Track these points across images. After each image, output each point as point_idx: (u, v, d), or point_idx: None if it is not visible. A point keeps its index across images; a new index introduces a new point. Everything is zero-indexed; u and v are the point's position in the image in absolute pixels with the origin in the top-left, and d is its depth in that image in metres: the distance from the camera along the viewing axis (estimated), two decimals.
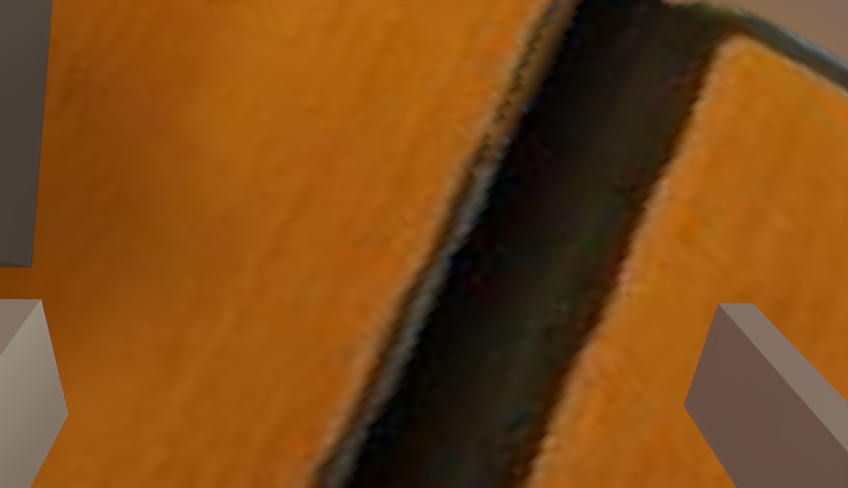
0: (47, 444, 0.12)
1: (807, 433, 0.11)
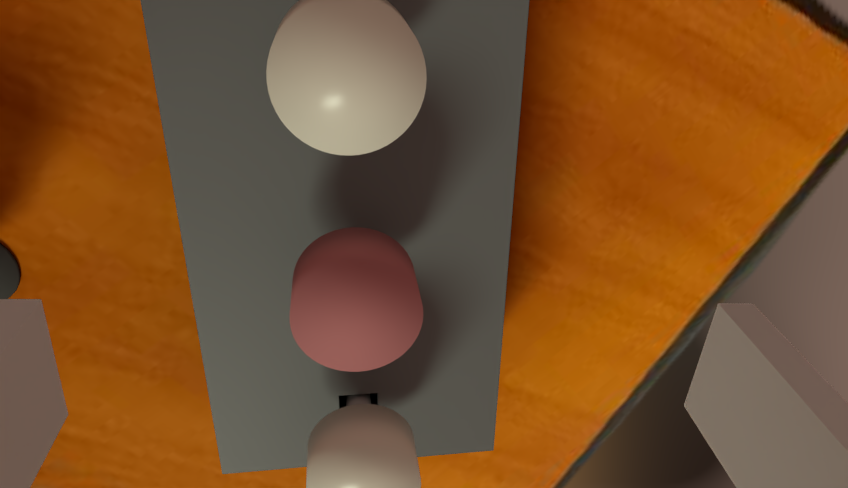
0: (47, 443, 0.12)
1: (807, 433, 0.11)
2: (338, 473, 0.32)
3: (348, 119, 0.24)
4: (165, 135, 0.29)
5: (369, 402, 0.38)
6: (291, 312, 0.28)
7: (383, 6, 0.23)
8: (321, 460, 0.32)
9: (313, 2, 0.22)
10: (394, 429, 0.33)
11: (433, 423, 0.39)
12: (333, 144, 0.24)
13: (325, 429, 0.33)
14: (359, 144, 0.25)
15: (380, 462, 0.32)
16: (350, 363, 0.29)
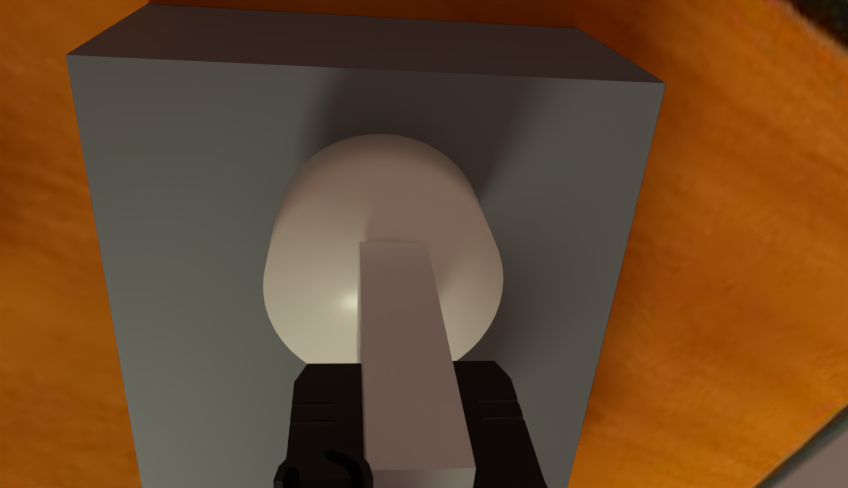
0: None
1: None
2: None
3: None
4: (112, 309, 0.20)
5: None
6: None
7: (449, 196, 0.15)
8: None
9: (342, 187, 0.14)
10: None
11: None
12: None
13: None
14: None
15: None
16: None
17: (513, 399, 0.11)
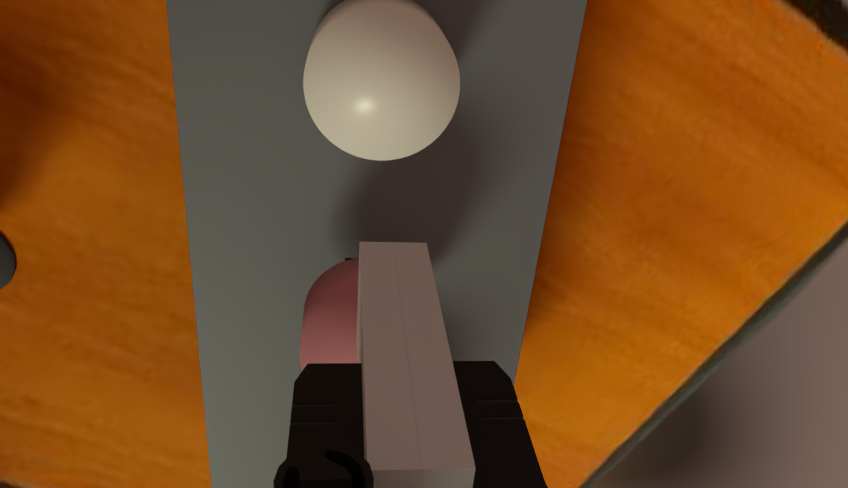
0: None
1: None
2: None
3: (379, 124, 0.25)
4: (181, 143, 0.27)
5: None
6: (302, 345, 0.26)
7: (424, 18, 0.23)
8: None
9: (356, 9, 0.23)
10: None
11: None
12: (362, 148, 0.25)
13: None
14: (388, 150, 0.25)
15: None
16: None
17: (513, 399, 0.11)
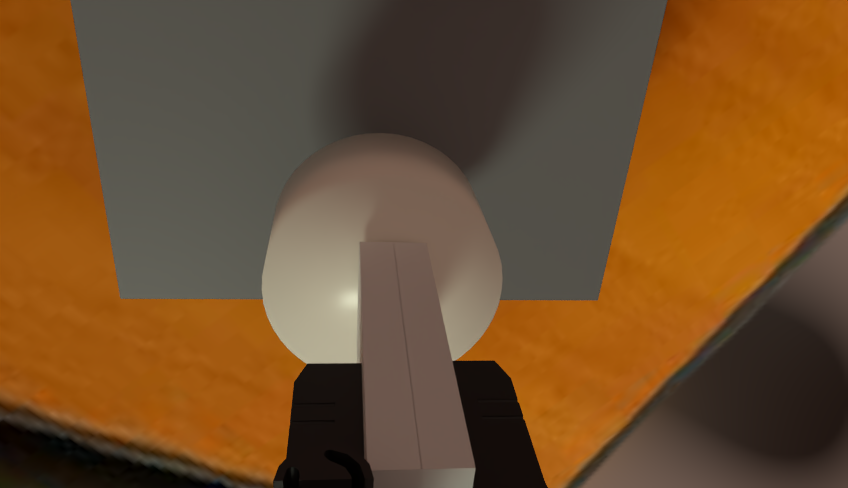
0: None
1: None
2: (333, 245, 0.15)
3: None
4: None
5: None
6: None
7: None
8: (298, 208, 0.15)
9: None
10: (453, 177, 0.16)
11: (503, 235, 0.22)
12: None
13: (311, 168, 0.16)
14: None
15: (424, 226, 0.15)
16: None
17: (513, 399, 0.11)
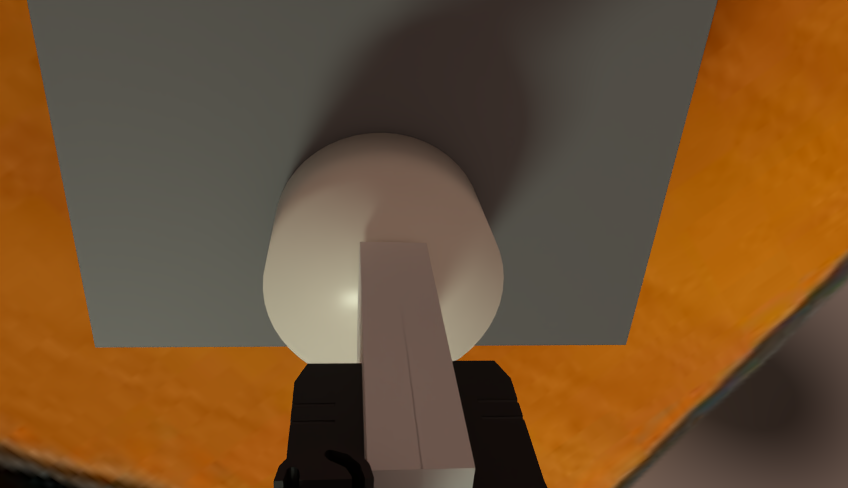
0: None
1: None
2: (335, 245, 0.15)
3: None
4: None
5: None
6: None
7: None
8: (300, 207, 0.15)
9: None
10: (454, 176, 0.16)
11: (523, 275, 0.20)
12: None
13: (312, 168, 0.16)
14: None
15: (425, 226, 0.15)
16: None
17: (513, 399, 0.11)
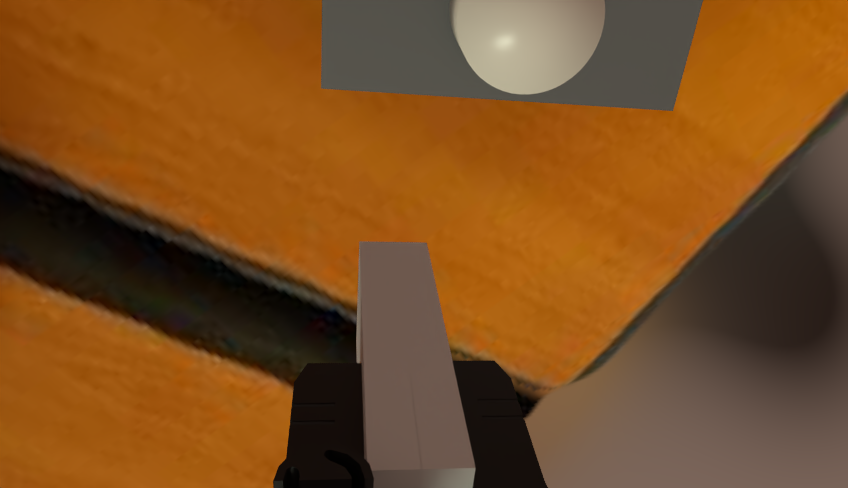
0: None
1: None
2: None
3: None
4: None
5: None
6: None
7: None
8: None
9: None
10: None
11: (606, 49, 0.29)
12: None
13: None
14: None
15: None
16: None
17: (513, 399, 0.11)
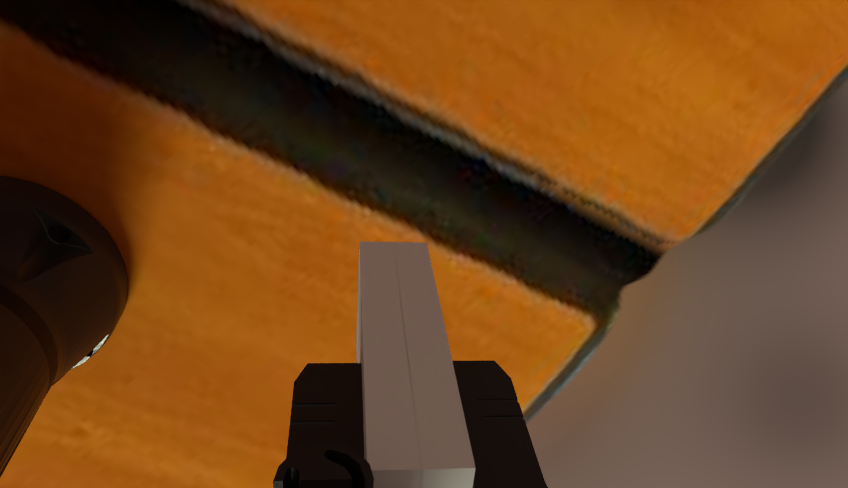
0: None
1: None
2: None
3: None
4: None
5: None
6: None
7: None
8: None
9: None
10: None
11: None
12: None
13: None
14: None
15: None
16: None
17: (513, 399, 0.11)
